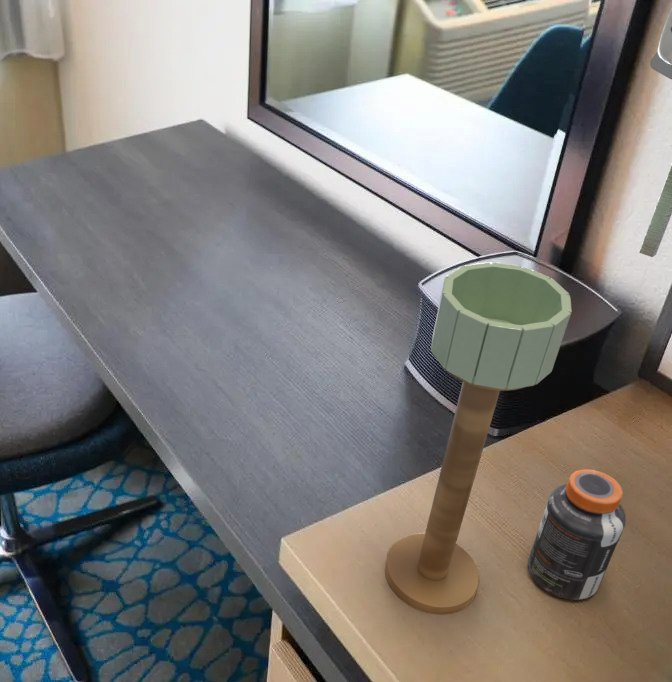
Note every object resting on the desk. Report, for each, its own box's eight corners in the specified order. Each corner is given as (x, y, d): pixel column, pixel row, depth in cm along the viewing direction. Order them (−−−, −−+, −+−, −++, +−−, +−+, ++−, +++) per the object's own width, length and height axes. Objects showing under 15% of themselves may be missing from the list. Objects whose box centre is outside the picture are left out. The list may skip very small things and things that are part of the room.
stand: (494, 579, 71) (573, 353, 55) (442, 632, 67) (512, 405, 51) (418, 527, 76) (471, 307, 60) (366, 574, 72) (408, 351, 56)
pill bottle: (612, 599, 68) (653, 508, 62) (546, 605, 68) (580, 514, 62) (576, 545, 73) (611, 456, 67) (515, 551, 73) (543, 462, 66)
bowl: (573, 353, 55) (594, 294, 52) (512, 405, 51) (530, 345, 48) (471, 307, 60) (485, 250, 57) (408, 351, 56) (419, 293, 53)
